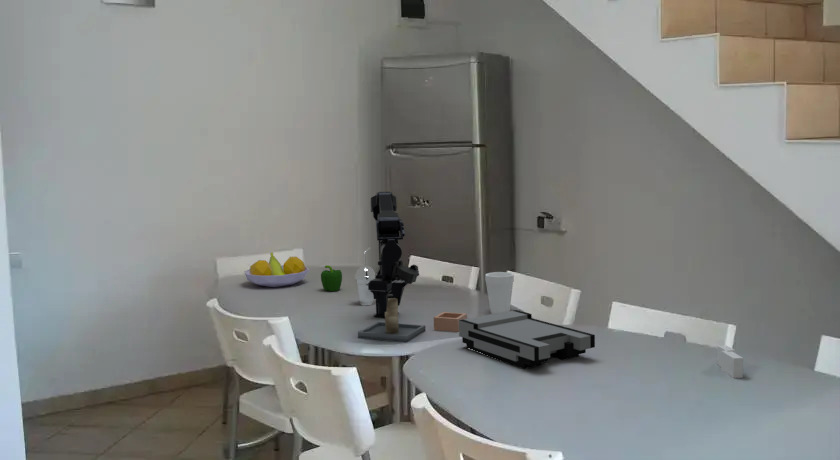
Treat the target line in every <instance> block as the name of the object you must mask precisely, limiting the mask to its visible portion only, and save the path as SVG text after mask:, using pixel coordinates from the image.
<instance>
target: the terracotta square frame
mask: <svg viewBox="0 0 840 460" xmlns="http://www.w3.org/2000/svg"><path fill="white" fill-rule="evenodd" d="M464 319H468V313H466V312H465V313H464V312H462V313H461V312H447V311H442V312H440V313H439V314H437V315H436V316H435V315H434V316H433V330H434V331H440V332H443V331H444V332H453V333H459V320H464Z"/></svg>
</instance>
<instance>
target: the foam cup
mask: <svg viewBox="0 0 840 460" xmlns="http://www.w3.org/2000/svg"><path fill="white" fill-rule="evenodd" d="M484 276H485V277H484V278H485V279H484V281H485V283H486V289H487V290H486V292H487V298H488V305H489V306H488V307H489V312H490V315H491V314H497V313H503V312H508V311H511V303H512V295H513V285H514V282H515V280H514V279H515V278H514V276H515V273H513V272H508V271H507V272H506V271H504V272H503V271H495V272H494V271H493V272H488V273H485V275H484Z"/></svg>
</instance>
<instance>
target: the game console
mask: <svg viewBox="0 0 840 460" xmlns="http://www.w3.org/2000/svg"><path fill="white" fill-rule="evenodd" d="M458 333H459V334H458V336H459V337H461V339H462V342H461V343H463V344H465V345H466V349H467V348H470V349H473V350H475V351H478V352H481V353H483V354H485V355H488V356H490V357H489V358H491V357H493V358H492V359H494V358H496V359H495V360H497V359H498V360H497V361H500V360H501V361H500V362H502V361H503V362H502V363H505V362H506V364H509V365H511V366H514V367H517V368H519V369H523V370H525V369H529V368H534V367H535V368H536V367H538V366H539V367H540V366H542V365H543V364H542V363H546V362H547V363H548V362H549V358H553V359H557V360H560V361H565V360H569V359H574V358H578V357H580V355H581V354H586V350H589V349H592V348H593V349H594V348H595V346H596V335H595V334H593V333H589V332H586V331H585V332H584V331H581V330H578V329H575V328H570V327H566V326H563V325H559V324H556V323H550V322H548V321H543V320H540V319H536V318H533V317H532V313H528V312H525V311H521V310H517V309H516V310H515V309H514V310H510V311H508V312H503V313H497V314H491V313H490V314H486V315H481V316H476V317H471V318H467V319H464V320H459V332H458ZM485 355H484V356H485ZM488 356H487V357H488Z"/></svg>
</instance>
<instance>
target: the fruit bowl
mask: <svg viewBox="0 0 840 460" xmlns="http://www.w3.org/2000/svg"><path fill="white" fill-rule="evenodd" d="M309 271H310V269H309V268H308V267H307V266H306V265H305V263H304V260H302V259H301V258H299V257H297V256H289V257H288V258H287V259H286V261H284V263H283V265H281V263H280V262H279V260H278V259H277V258H276V257H275V256H274V252H270V257H269V261H267V260H264V259H263V260H262V259H259V260H257V261H255V262H254V263H253V264H252V265H250V267H249V269H247V270H244V271H243V272H244V276H245V278H246V281H247V282H251V283H253V284H256V285H258V286H260V287H261V286H262V287H267V288H279V287H286V286H294V285H295V284H296V283H299V282H300V281H302V280H304V279H305V278H306V275H307V274H308V272H309Z"/></svg>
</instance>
